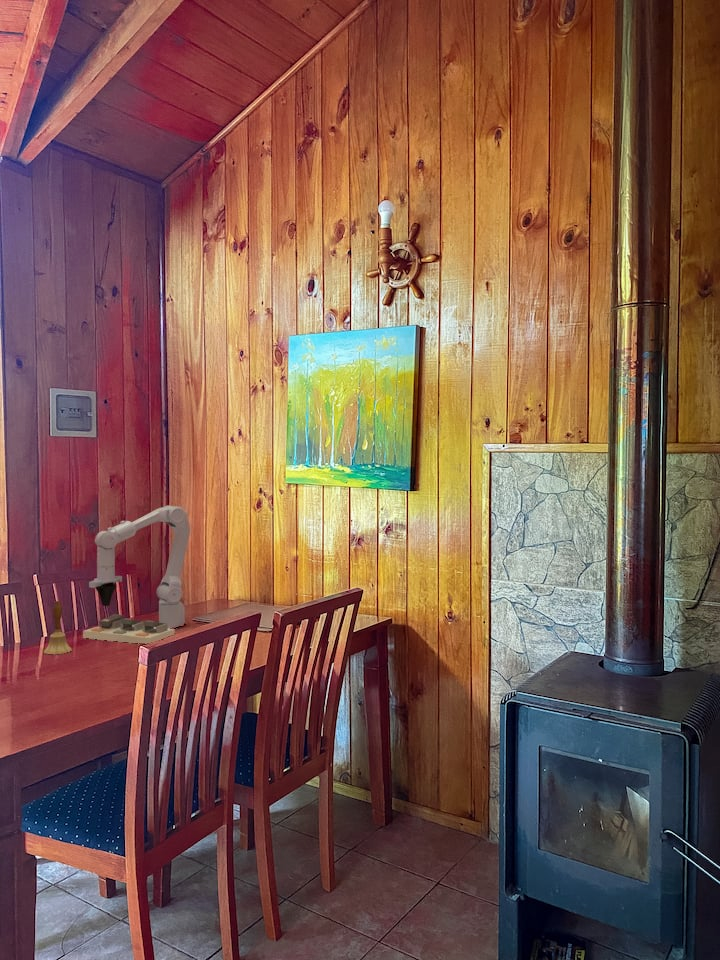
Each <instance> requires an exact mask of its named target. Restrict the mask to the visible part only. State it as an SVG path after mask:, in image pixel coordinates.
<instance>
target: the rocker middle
mask: <svg viewBox="0 0 720 960" xmlns="http://www.w3.org/2000/svg"><path fill="white" fill-rule="evenodd" d="M143 621H144V620H137V619H133V618H125V617H124V619H121V623H122V624H130V625H134V624H137V623H140V622H143Z"/></svg>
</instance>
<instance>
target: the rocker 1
mask: <svg viewBox="0 0 720 960" xmlns="http://www.w3.org/2000/svg"><path fill="white" fill-rule="evenodd" d="M124 618H125V617H124V614H117V613H114V614H112V615H110V616H108V617H105V618H103V619H100V620H98V626H108V627H109V626H111V625H112V622H115V621H118V620H121V619H124Z"/></svg>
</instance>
